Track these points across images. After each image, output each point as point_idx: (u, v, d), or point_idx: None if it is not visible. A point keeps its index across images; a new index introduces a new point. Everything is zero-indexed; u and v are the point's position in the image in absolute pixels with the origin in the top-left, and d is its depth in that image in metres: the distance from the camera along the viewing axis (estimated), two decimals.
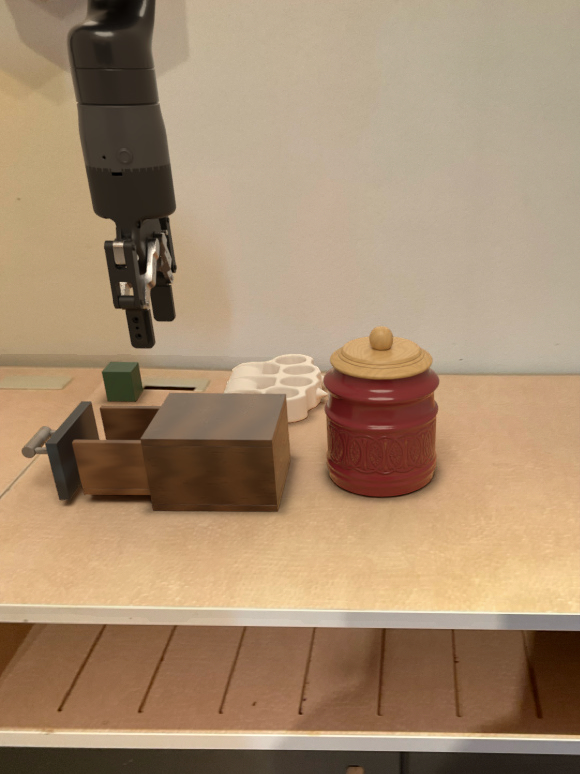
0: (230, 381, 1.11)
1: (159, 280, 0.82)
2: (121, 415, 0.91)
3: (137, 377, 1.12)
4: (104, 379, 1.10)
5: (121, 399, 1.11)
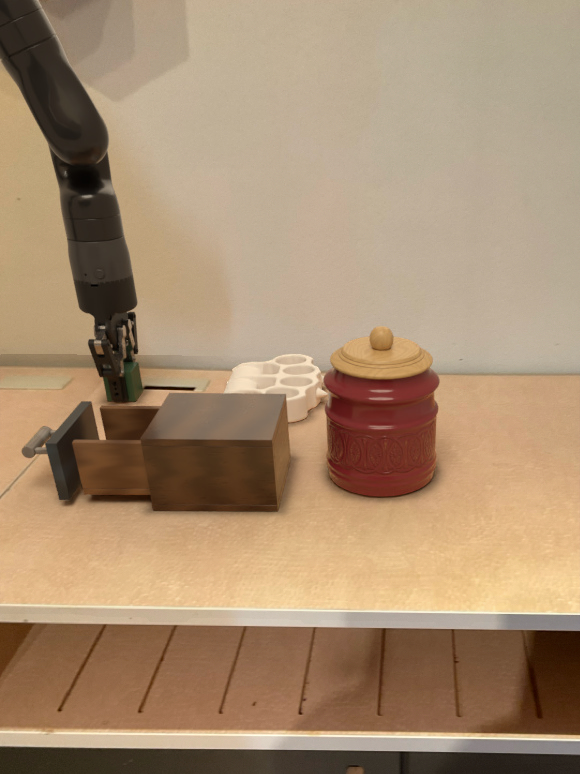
0: (230, 381, 1.11)
1: (124, 361, 1.13)
2: (121, 415, 0.91)
3: (138, 377, 1.12)
4: (104, 379, 1.10)
5: None
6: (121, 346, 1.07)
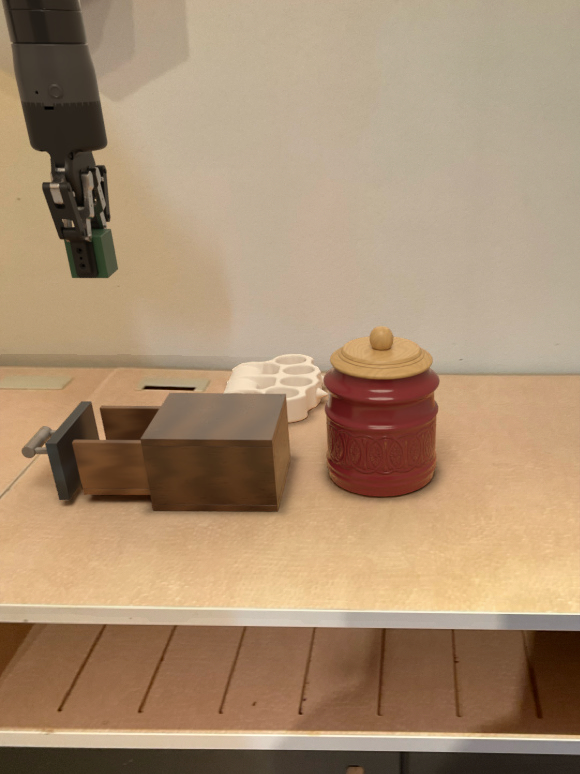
0: (230, 381, 1.11)
1: (93, 227, 0.88)
2: (121, 415, 0.91)
3: (110, 249, 0.88)
4: (67, 247, 0.85)
5: None
6: (87, 199, 0.82)
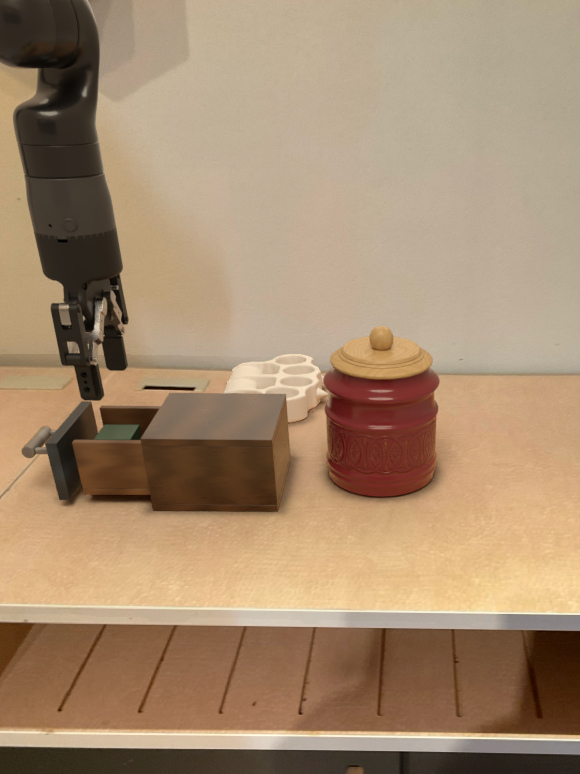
0: (230, 381, 1.11)
1: (110, 332, 0.86)
2: (121, 415, 0.91)
3: None
4: None
5: None
6: (97, 322, 0.78)
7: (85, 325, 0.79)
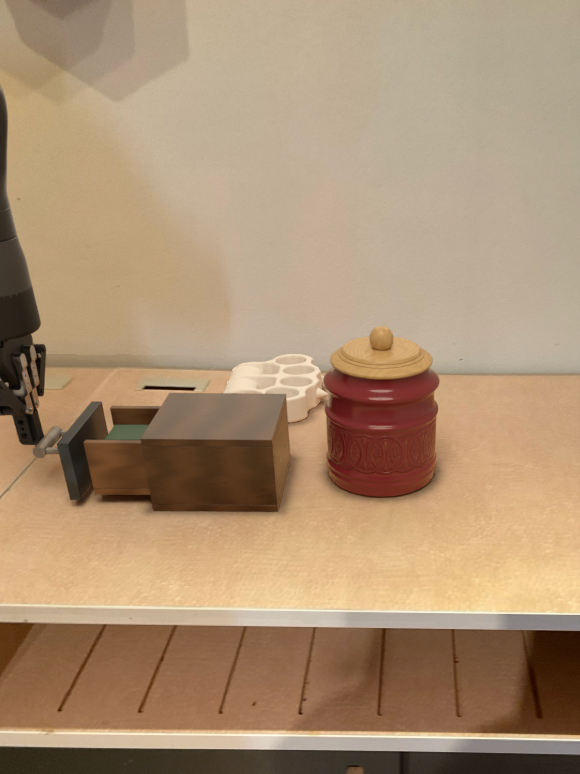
0: (230, 381, 1.11)
1: None
2: (131, 415, 0.91)
3: None
4: None
5: None
6: (23, 381, 0.83)
7: (4, 380, 0.82)
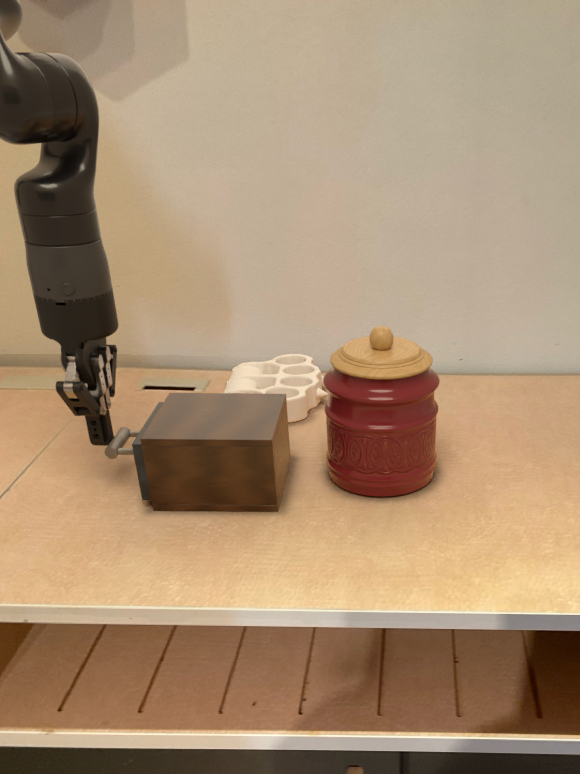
0: (230, 381, 1.11)
1: None
2: None
3: None
4: None
5: None
6: (99, 382, 0.83)
7: (81, 381, 0.82)
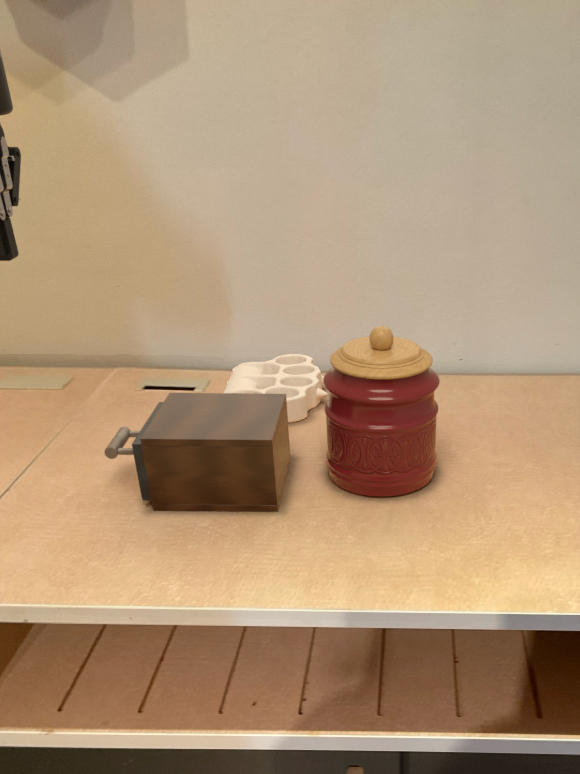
0: (230, 381, 1.11)
1: None
2: None
3: None
4: None
5: None
6: None
7: None
